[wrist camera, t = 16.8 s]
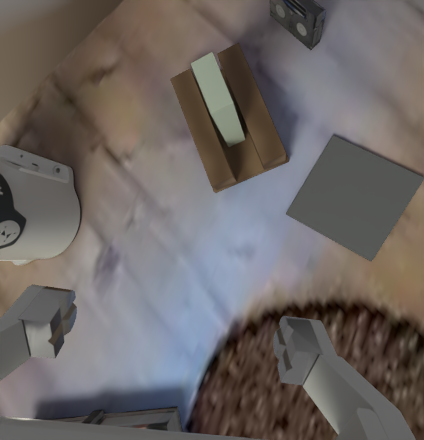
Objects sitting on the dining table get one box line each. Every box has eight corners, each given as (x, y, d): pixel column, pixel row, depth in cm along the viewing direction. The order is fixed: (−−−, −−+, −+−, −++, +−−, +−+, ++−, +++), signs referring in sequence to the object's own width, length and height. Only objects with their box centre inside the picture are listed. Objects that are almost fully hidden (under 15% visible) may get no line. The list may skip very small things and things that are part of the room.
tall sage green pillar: (228, 147, 39) (210, 113, 28) (213, 110, 39) (190, 63, 29) (245, 139, 38) (233, 102, 28) (229, 102, 39) (212, 51, 28)
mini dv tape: (319, 42, 38) (327, 7, 32) (310, 50, 38) (317, 17, 32) (278, 7, 39) (278, -33, 34) (270, 15, 40) (269, -23, 34)
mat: (285, 214, 38) (286, 213, 37) (332, 136, 37) (333, 135, 36) (370, 261, 35) (371, 261, 35) (422, 178, 34) (424, 177, 34)
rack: (215, 193, 40) (207, 187, 35) (179, 97, 42) (167, 80, 38) (288, 161, 38) (290, 151, 33) (245, 62, 40) (242, 40, 35)
